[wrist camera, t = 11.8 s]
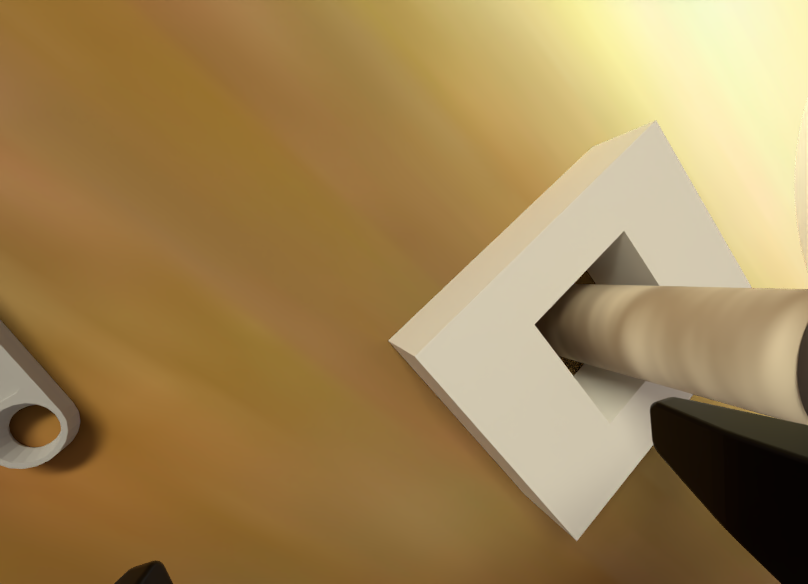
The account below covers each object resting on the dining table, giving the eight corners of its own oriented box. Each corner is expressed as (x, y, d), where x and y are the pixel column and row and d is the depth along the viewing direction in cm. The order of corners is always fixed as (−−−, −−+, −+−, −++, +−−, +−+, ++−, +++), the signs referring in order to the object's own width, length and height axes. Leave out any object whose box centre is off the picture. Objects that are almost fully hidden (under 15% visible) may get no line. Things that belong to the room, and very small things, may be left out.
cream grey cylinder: (572, 365, 22) (929, 474, 10) (516, 338, 21) (842, 424, 9) (597, 300, 23) (971, 328, 10) (543, 270, 22) (894, 261, 9)
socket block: (525, 494, 22) (576, 541, 18) (388, 340, 19) (414, 356, 15) (689, 302, 25) (762, 306, 21) (591, 147, 22) (655, 120, 19)
